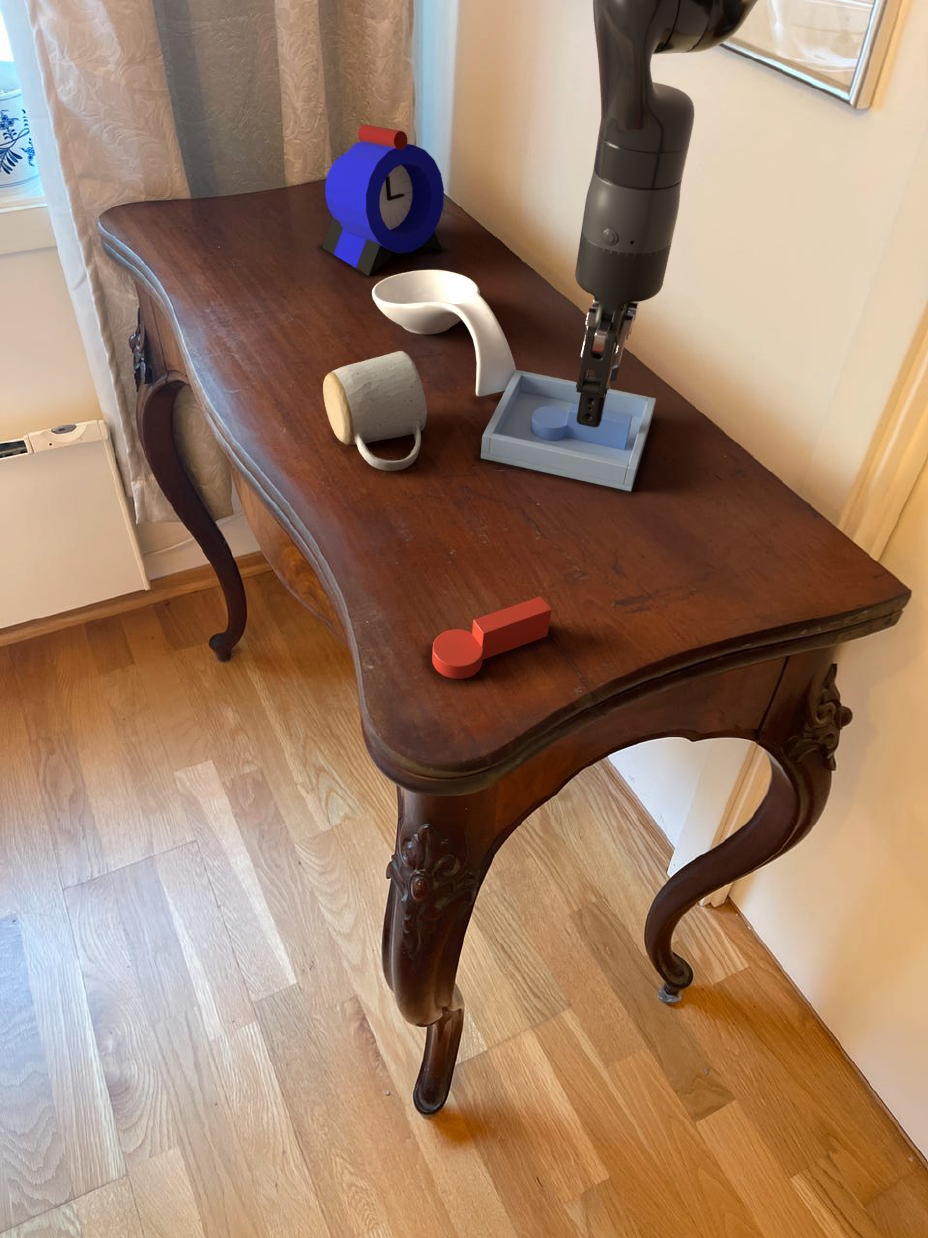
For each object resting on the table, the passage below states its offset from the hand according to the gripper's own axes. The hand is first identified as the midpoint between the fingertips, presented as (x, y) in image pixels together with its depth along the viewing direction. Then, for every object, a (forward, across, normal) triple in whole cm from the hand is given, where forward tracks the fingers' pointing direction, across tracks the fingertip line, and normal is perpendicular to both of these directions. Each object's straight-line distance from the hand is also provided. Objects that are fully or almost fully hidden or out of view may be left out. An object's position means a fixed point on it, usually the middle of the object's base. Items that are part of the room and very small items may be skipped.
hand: (597, 400), depth 89 cm
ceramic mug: (+5, -7, +19) cm, 21 cm away
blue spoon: (+4, 0, +1) cm, 5 cm away
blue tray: (+5, 0, +2) cm, 5 cm away
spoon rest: (+5, +13, +19) cm, 23 cm away
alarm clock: (+5, +33, +34) cm, 48 cm away
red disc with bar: (+5, -30, +2) cm, 30 cm away
